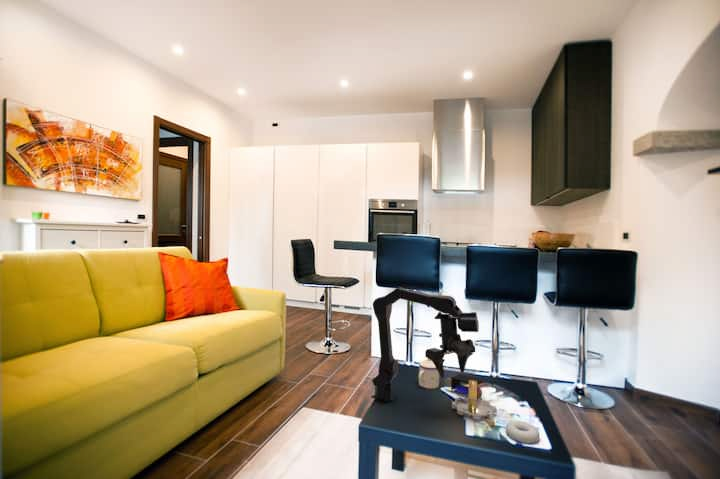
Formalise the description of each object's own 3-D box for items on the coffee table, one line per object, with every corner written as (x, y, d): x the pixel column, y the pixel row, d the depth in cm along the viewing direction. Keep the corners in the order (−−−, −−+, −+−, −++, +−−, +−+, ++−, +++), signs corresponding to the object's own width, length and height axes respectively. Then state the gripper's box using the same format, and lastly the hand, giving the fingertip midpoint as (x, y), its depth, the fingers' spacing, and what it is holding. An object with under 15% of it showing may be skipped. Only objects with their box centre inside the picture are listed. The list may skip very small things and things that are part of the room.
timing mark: (485, 422, 125) (485, 419, 125) (489, 421, 126) (489, 418, 126) (490, 425, 123) (490, 422, 123) (494, 424, 123) (494, 421, 123)
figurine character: (444, 394, 151) (477, 402, 140) (442, 375, 152) (475, 382, 141) (453, 390, 156) (485, 398, 145) (451, 372, 157) (484, 378, 146)
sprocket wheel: (443, 405, 134) (444, 373, 134) (470, 397, 143) (471, 367, 143) (477, 423, 122) (478, 387, 122) (505, 412, 130) (506, 379, 130)
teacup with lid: (425, 379, 164) (426, 353, 164) (443, 385, 157) (444, 358, 158) (410, 386, 155) (410, 359, 155) (428, 392, 149) (429, 364, 149)
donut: (502, 438, 115) (536, 449, 109) (502, 427, 115) (536, 437, 110) (509, 426, 123) (541, 435, 118) (509, 416, 123) (541, 424, 118)
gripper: (442, 338, 120) (446, 386, 119) (484, 331, 129) (488, 375, 128) (423, 333, 130) (426, 377, 129) (463, 326, 139) (466, 368, 138)
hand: (452, 374), depth 131 cm, fingers open, 9 cm apart
